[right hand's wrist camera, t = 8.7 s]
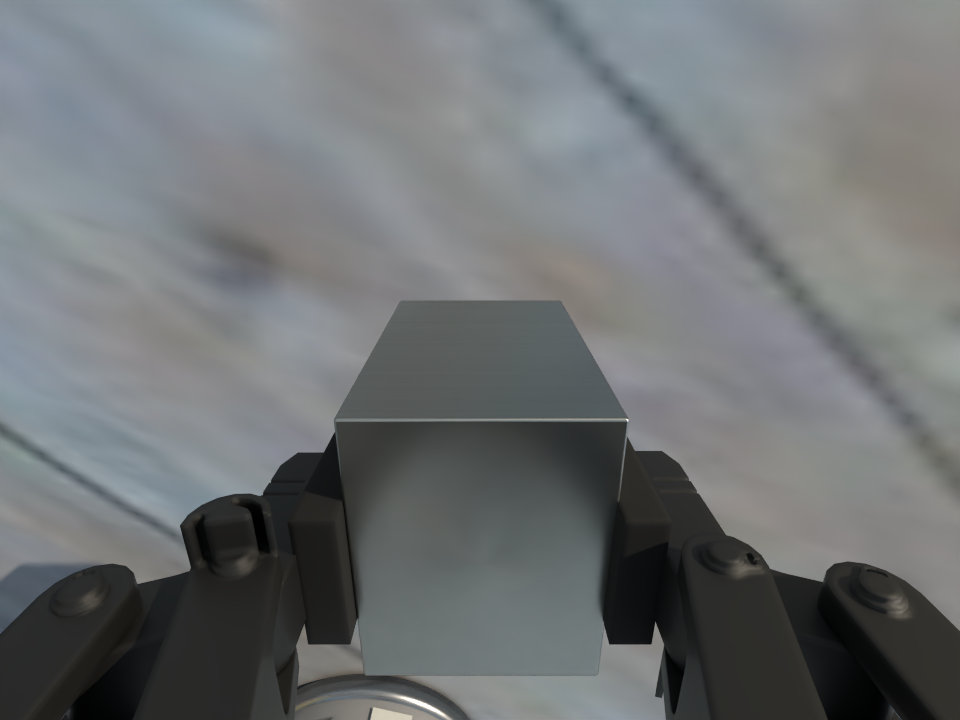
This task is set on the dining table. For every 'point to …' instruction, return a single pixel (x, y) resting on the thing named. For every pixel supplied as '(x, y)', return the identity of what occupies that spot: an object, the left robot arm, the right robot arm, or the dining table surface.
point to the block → (481, 492)
